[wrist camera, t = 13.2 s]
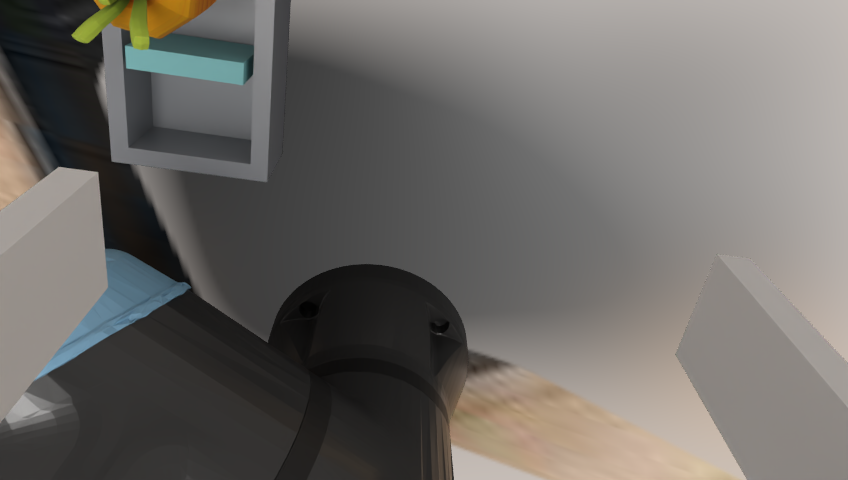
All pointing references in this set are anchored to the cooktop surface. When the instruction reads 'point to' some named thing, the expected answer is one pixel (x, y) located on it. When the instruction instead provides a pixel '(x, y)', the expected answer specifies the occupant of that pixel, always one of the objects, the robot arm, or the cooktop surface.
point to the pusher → (194, 58)
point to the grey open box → (204, 99)
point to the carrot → (141, 18)
